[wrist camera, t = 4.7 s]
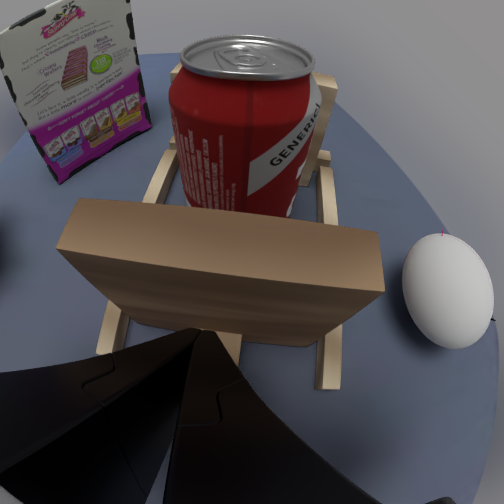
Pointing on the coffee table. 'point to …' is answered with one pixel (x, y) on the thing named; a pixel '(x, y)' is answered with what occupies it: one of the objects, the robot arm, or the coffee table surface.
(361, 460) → the coffee table surface
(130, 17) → the candy bar box
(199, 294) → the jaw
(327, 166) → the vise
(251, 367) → the coffee table surface
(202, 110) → the soda can
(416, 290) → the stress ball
